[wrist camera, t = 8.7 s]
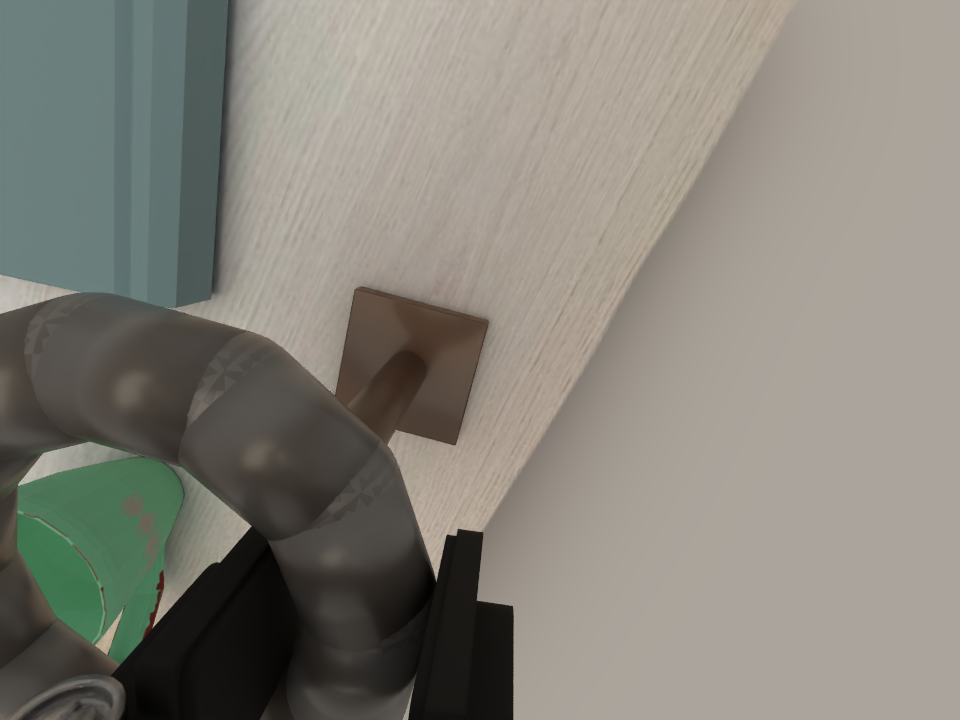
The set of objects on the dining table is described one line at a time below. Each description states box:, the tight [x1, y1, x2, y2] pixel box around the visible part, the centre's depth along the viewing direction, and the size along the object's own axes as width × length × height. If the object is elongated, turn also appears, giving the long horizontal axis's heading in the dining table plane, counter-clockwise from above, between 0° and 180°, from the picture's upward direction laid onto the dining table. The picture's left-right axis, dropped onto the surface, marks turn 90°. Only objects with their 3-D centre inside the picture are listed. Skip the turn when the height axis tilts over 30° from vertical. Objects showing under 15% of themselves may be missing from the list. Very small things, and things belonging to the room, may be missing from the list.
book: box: [0, 0, 228, 308], centre depth 25 cm, size 23×16×5 cm
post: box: [335, 287, 489, 445], centre depth 25 cm, size 8×8×13 cm
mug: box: [17, 457, 184, 664], centre depth 31 cm, size 15×10×10 cm
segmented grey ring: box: [0, 292, 436, 720], centre depth 9 cm, size 11×11×2 cm
